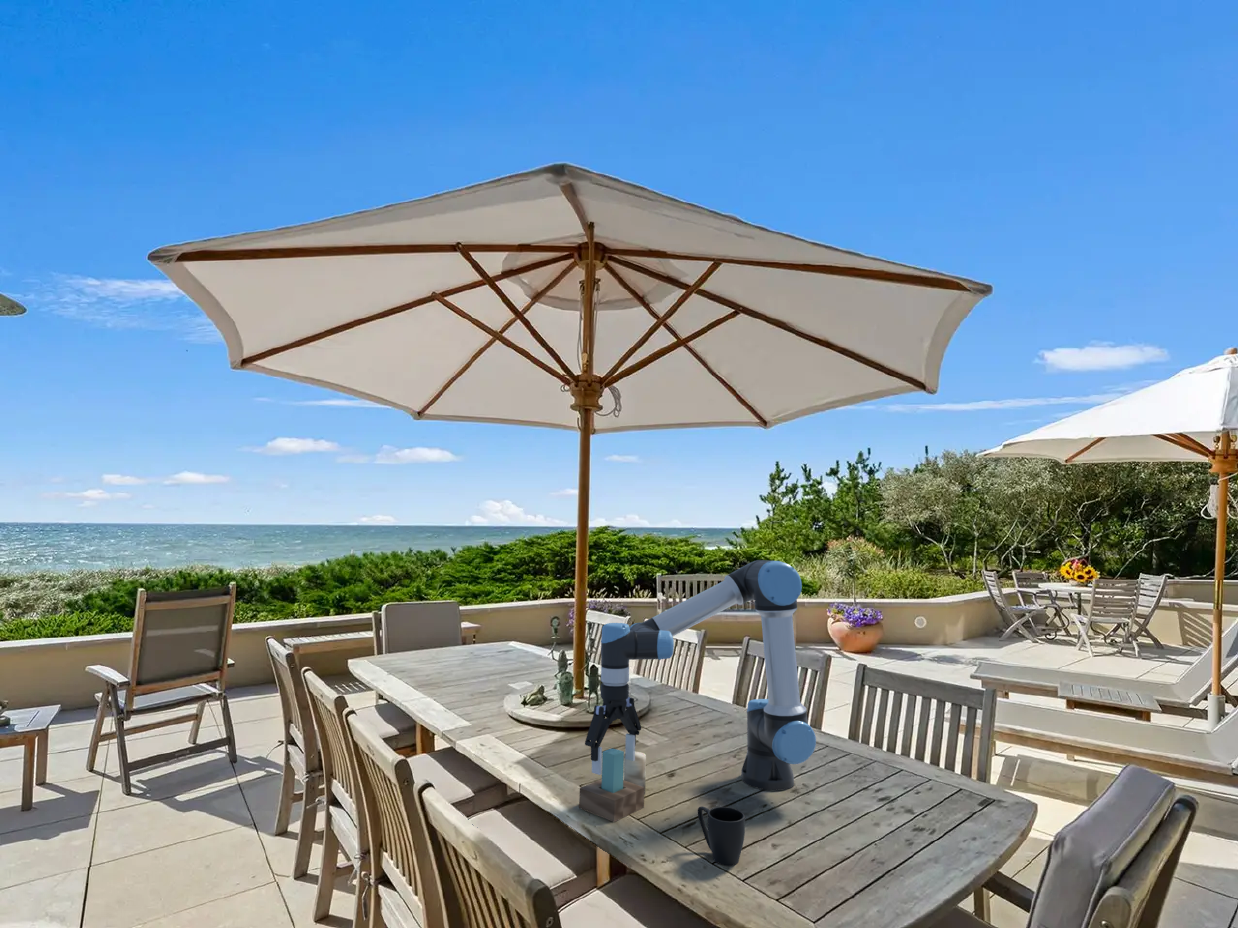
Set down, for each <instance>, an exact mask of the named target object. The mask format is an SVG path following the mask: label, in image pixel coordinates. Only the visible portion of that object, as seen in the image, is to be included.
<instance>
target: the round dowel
mask: <svg viewBox="0 0 1238 928" xmlns="http://www.w3.org/2000/svg"><path fill="white" fill-rule="evenodd" d="M625 755H626V752H624V769H623V780H624V781H627V782H630V783H633V784H636V785H639V786H642V787H644V796H645V795H646V777H647V776H646V775H647V774H646V771H647V769H646V767H647V764H646V763H647V755H646V754H645V753H644V752H641V751H635V761H631V760H628V759H625Z"/></svg>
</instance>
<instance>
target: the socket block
mask: <svg viewBox="0 0 1238 928" xmlns="http://www.w3.org/2000/svg"><path fill="white" fill-rule="evenodd" d="M578 797H579V801H578V802H579V804H578V805H579V806H578V808H579V810H583V811H586V812H588V813H591V814H593V815H596V816H599V817H601V818H603V819H606V820H608V821H610V822H614V823H616V822H617V821H619V820H621V819H623V818H625V817H627V816H629V815H632V814H633V813H636V812H637V811H640V810H642V809H643V808H645V795H644V787H642V786H639V785H636V784H633V783H630V782H627V781H624V779H623V789H622V790H619V791H617V792H615V793H612V792H609V791H606V790H603V789H602V778H600V779H598V780H596V781H594V782H591V783H589V784H586V785H584V786H581V787H579V796H578Z"/></svg>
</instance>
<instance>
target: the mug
mask: <svg viewBox="0 0 1238 928" xmlns="http://www.w3.org/2000/svg"><path fill="white" fill-rule="evenodd" d="M704 812H705V813H706V814H707V822H706V821H705V818H704ZM697 817H698V821H699V825H700V828H701V830H702V834H703V836H704V839H705V842H706V844H707V847H708V849H710V851H711V854H712V858H713V861H714V862H716V864H719V865H721V866H726V867H727V866H728V867H731V866H735V865H737V864H738V863H739V861H740V858H741V854H742V850H743V845H744V840H745V834H746V816H745V813H744V812H742V811H741V810H739V809H736V808H735V807H731V806H716V807H712V808H710V809H709V808H708V807H705V806H699V807H698V808H697ZM706 823H707V824H706Z"/></svg>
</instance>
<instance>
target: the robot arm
mask: <svg viewBox="0 0 1238 928" xmlns="http://www.w3.org/2000/svg"><path fill="white" fill-rule="evenodd" d="M802 585H803V584H802V579H801V577H800V574H799V573H798V571H797V569H796V568H794V566H791V565H790V564H788V563H786V562H783V561H780V560H766V559H765V560H763V559H757V560H754V561H751V562H749V563H747V564H746V565H744V566H741V567H739V568H738V569H736V570H734V571H732V572H731V573H729V574H727V575H725V577H724V580H723V581H721V582H719V583H717V584H715V585H713V586H711V587H709V588H707V589H706V590H703V591H702V592H699V593H698V594H695V595H694V596H692V597H689V598H688V599H686V600H683V601H682V602H680V603H678V604H676V605H674V606H672V607H670V608H668V609H666V610H664V611H662V612H660V613H659V614H657V615H655V616H652V617H651V618H649V619H646V620H645V621H642V622H636V623H635V622H634V623H633V624H631V625H629V624H628V623H623V622H607V623H606V624H604V625H603V626H602V628H601V640H600V645H601V646H600V647H601V648H600V650H601V651H600V661H601V662H600V670H601V671H600V682H602V683H600V698H601V700H602V705H596V704H595V705H594V707H593V715H592V718H591V722H590V725H589V727H588V728H589V729H588V731H587V734H586V738H585V741H584V746H587V747H590V759H591V774H592V773H593V774H595V775H598V776H600V775H601V776H602V753H603V747H602V746H601V744H602V742H603V740H604V738H605V735H606V733H607V732H608V729H609V727H610V725H612V723H613V722H615V721H616V720H620V722H621V724H622V725H623V726H624V728H625V730H626V731H627V732H628V733H625V753H626V755H625V759H628V760H631V761H635V752H636V744H637V741H636V740H637V736H639V735H640V731H641V730H642V726H641V722H640V718H639V715H638V712H637V709H636V707H635V699H634V698H633V697H630V696H629V695H630V692H629V691H630V690H629V689H630V685H629V682H630V660H631V661H633V660H634V661H635V660H640V661H641V660H658V661H661V660H666V659H667V660H668V659H671V658H672V656H673V655H674V650H675V649H674V647H675V646H674V644H675V642H674V636H677V635H679V634H680V633H683V632H684V631H687V630H688V629H690V628H692V627H694V626H695V625H697V624H700V623H702V622H703V621H705V620H708V619H709V618H711V617H713V616H716V615H717V614H719V613H721V612H722V611H725V610H726V609H728V608H731V607H733V606H734V605H736V604H737V605H739V606H742V605H744V604H745V603H747V602H751V601H754V610H755V612H756V613H758V614H759V615H760V617H761V618H760V619H761V627H762V629H761V631H762V642H763V653H764V663H765V677H766V688H767V698H756V699H751V700H749V701H748V703H747V709H746V720H747V721H746V724H747V725H746V731H747V733H746V737H747V738H746V739H747V741H746V743H747V745H746V746H747V749H746V751H747V752H746V755H745V757H744V761H743V764H742V768H741V777H740V779H741V781H742V782H743V783H744V784H745V785H748V786H750V787H752V788H755V789H760V790H764V791H784V790H789V789H791V788H792V787H794V784H795V774H794V772H793V768H792V765H799V764H803V763H804V762H806V761H807V760H808V759H810V757H811V756H812V755H813V754H814V752H815V748H816V745H817V737H816V734H815V730H813V728H812V726H811V725H810V724H809V723H808V714H807V713H808V712H807V711H808V710H807V707H806V706H804V705H803V703H801V700H800V699H801V698H800V688H799V677H798V676H799V675H798V666H797V665H798V664H797V654H796V642H795V632H794V621H793V614H794V613H795V612H796V611H797V610H798V602H797V600H798V599H799V597H800V595H801V593H802V589H803V588H802V587H803V586H802Z"/></svg>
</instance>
